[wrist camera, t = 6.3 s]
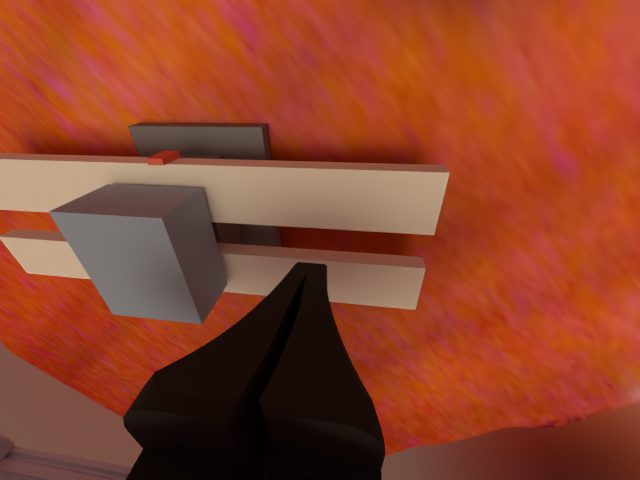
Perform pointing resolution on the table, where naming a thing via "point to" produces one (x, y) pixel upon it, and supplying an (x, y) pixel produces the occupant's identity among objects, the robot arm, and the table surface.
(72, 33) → the table surface
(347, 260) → the balance beam
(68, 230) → the block
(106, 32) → the table surface
